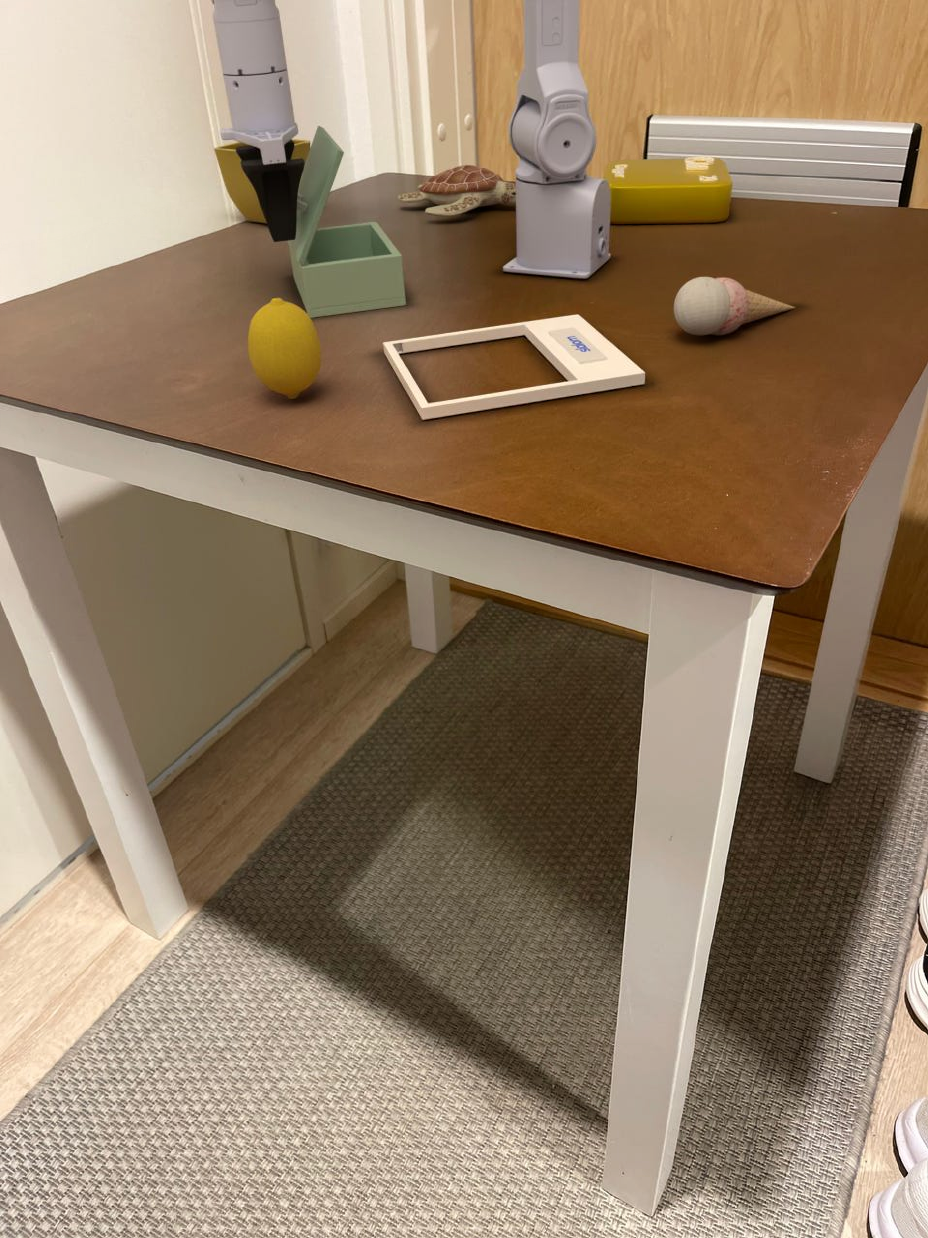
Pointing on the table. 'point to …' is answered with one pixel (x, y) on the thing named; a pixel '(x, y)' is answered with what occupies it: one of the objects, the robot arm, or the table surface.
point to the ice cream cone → (720, 306)
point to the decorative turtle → (463, 191)
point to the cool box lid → (315, 189)
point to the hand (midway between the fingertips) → (280, 230)
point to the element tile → (669, 190)
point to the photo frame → (558, 339)
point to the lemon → (284, 348)
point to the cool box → (349, 271)
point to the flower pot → (240, 183)
